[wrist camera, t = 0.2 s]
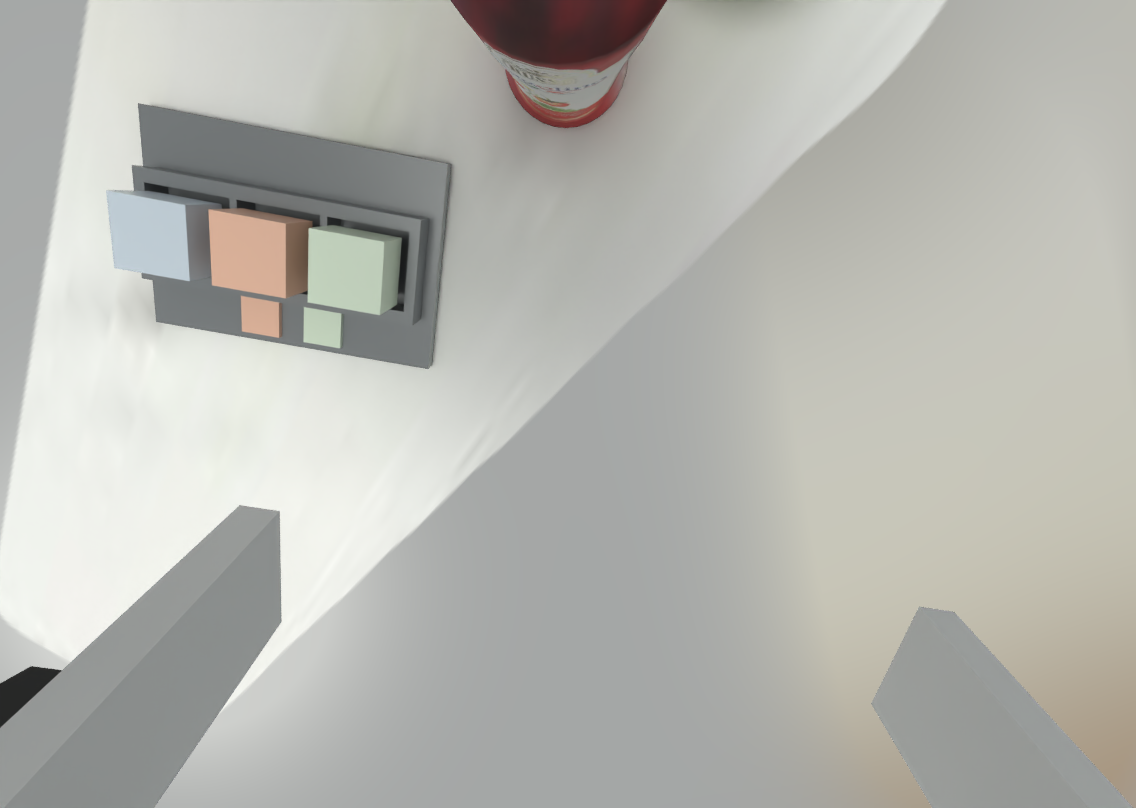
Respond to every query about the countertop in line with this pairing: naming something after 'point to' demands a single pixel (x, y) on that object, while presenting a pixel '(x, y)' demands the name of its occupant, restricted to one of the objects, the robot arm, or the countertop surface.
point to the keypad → (311, 192)
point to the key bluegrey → (160, 234)
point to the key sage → (353, 269)
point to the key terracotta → (259, 251)
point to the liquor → (562, 50)
